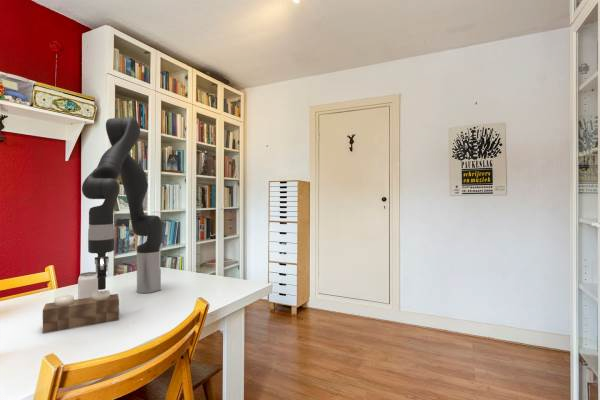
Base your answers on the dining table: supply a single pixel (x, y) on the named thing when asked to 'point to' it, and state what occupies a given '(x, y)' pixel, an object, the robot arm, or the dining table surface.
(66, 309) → the mount
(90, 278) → the can
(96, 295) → the knob
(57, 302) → the knob
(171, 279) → the dining table surface
